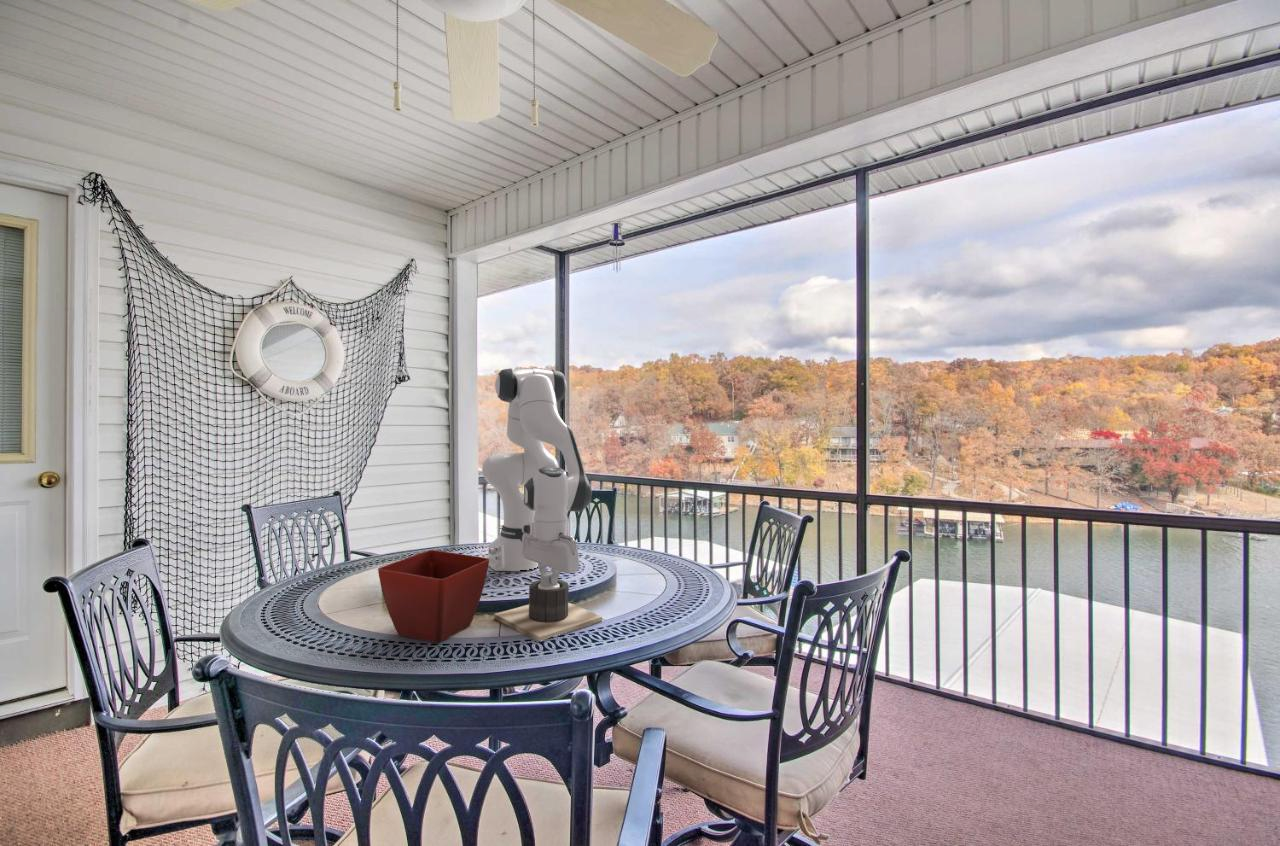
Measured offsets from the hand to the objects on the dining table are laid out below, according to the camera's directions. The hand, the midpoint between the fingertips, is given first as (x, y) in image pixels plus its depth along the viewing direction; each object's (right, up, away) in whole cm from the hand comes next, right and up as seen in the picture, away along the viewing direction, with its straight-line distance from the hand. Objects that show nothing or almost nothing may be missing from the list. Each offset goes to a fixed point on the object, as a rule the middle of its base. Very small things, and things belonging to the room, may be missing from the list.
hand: (549, 582), depth 153 cm
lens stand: (0, -10, 0) cm, 10 cm away
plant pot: (-27, -10, -8) cm, 30 cm away
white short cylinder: (0, -3, 0) cm, 3 cm away
